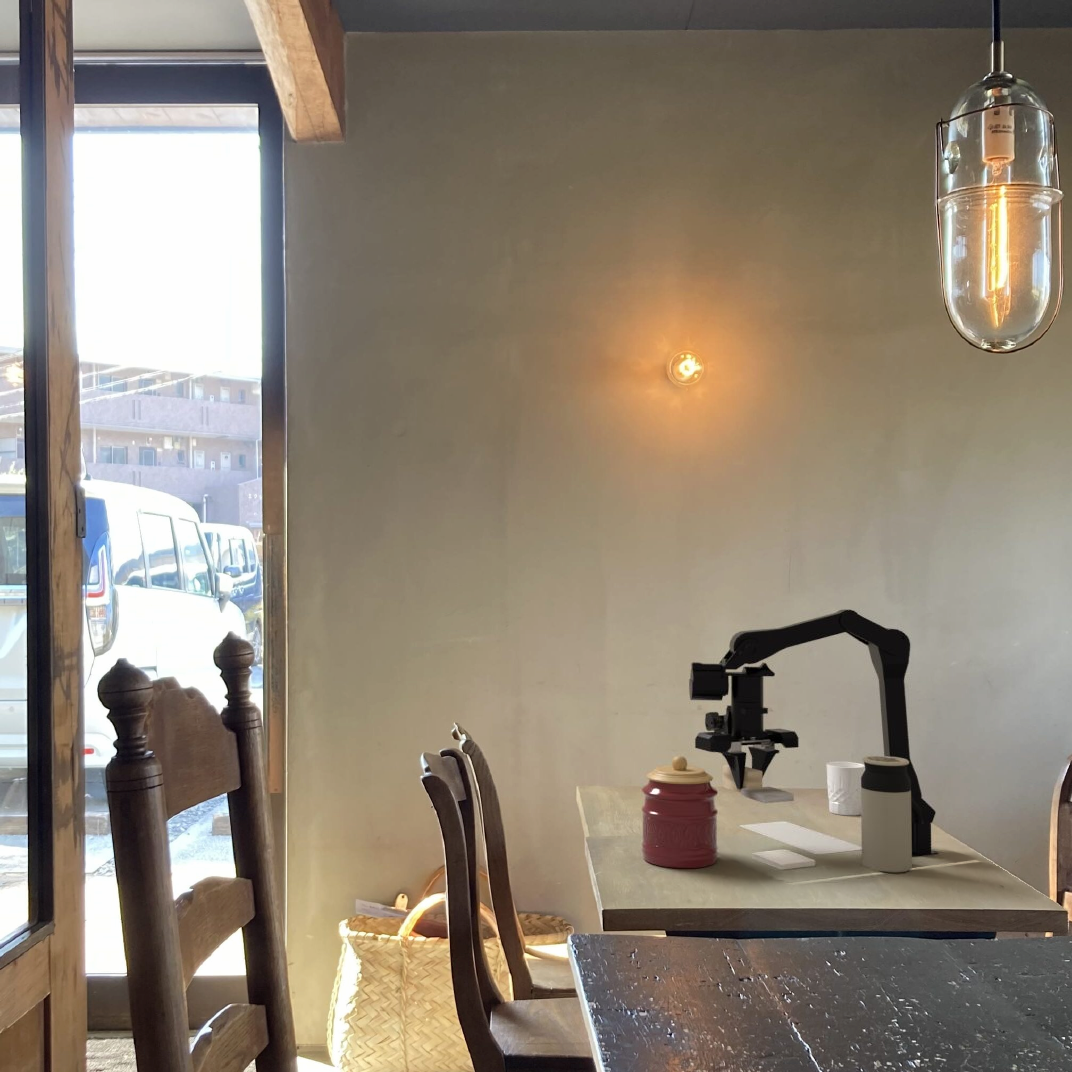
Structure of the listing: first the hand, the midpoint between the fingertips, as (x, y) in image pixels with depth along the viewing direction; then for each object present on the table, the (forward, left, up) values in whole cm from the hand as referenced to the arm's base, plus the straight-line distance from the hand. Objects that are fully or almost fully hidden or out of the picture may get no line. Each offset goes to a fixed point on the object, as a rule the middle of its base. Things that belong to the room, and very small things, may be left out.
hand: (747, 788), depth 185 cm
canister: (-2, +15, -11) cm, 19 cm away
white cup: (+19, -38, -11) cm, 44 cm away
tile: (-6, 0, -10) cm, 12 cm away
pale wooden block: (-2, 0, -1) cm, 2 cm away
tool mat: (+3, -14, -11) cm, 18 cm away
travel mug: (-19, -15, -11) cm, 26 cm away
